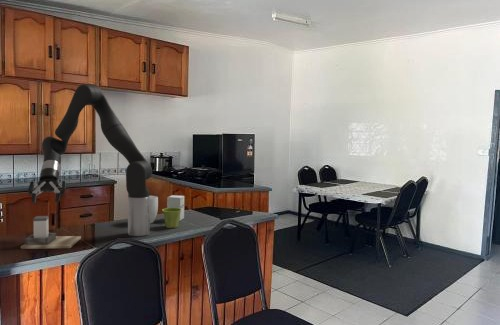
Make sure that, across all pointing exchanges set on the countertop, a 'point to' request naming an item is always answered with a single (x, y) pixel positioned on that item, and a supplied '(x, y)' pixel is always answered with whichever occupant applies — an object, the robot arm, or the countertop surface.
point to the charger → (41, 227)
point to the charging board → (50, 242)
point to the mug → (153, 207)
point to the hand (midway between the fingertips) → (45, 202)
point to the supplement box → (176, 204)
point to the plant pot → (171, 217)
